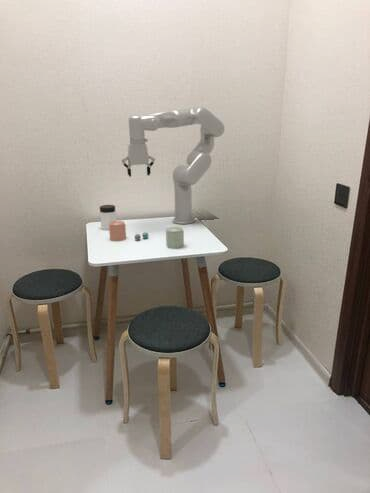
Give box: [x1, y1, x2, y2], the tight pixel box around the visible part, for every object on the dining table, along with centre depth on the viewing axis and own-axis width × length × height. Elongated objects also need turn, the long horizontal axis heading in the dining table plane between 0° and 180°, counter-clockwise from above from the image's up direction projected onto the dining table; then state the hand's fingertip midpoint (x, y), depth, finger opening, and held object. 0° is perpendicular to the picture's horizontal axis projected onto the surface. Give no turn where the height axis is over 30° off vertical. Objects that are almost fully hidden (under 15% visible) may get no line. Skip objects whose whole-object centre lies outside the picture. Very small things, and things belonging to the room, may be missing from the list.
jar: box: [99, 204, 117, 231], centre depth 212 cm, size 9×8×12 cm
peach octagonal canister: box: [108, 220, 127, 242], centre depth 194 cm, size 8×8×8 cm
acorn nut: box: [165, 226, 185, 249], centre depth 182 cm, size 8×8×8 cm
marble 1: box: [134, 233, 142, 241], centre depth 192 cm, size 3×3×3 cm
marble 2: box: [141, 231, 149, 239], centre depth 194 cm, size 3×3×3 cm
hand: (139, 175), depth 204 cm, fingers open, 9 cm apart
